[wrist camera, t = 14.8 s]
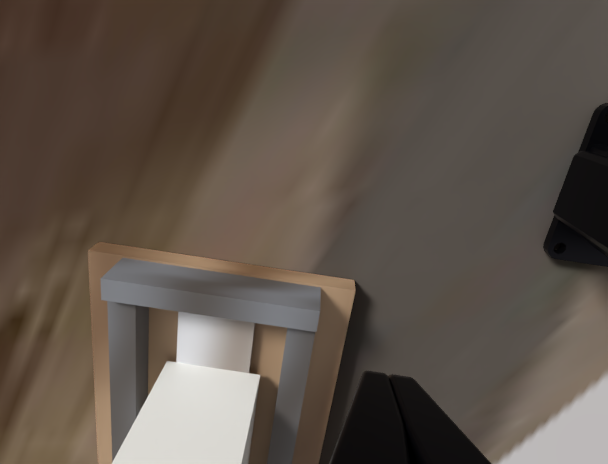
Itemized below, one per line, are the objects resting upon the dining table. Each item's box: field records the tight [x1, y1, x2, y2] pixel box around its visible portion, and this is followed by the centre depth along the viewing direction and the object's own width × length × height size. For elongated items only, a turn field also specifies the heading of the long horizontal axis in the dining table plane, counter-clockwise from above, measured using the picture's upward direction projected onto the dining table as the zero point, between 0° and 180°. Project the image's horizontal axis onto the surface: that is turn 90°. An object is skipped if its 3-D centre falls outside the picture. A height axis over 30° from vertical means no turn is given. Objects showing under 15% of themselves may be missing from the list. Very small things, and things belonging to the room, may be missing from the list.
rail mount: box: [88, 242, 356, 464], centre depth 22 cm, size 12×18×3 cm, turn 172°
